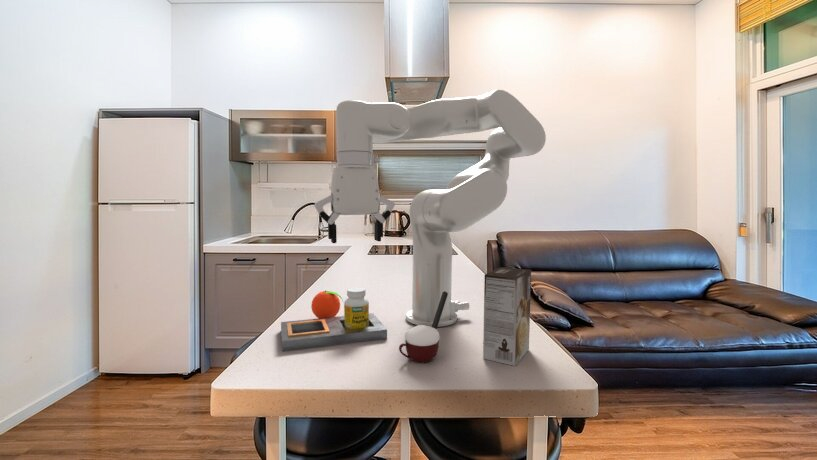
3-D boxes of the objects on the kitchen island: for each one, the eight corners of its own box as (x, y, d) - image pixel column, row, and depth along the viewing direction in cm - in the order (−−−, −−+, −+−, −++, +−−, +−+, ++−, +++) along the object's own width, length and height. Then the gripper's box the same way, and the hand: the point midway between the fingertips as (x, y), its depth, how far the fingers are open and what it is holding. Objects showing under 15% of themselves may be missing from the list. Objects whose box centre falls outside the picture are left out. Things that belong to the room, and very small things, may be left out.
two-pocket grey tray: (373, 321, 92) (373, 311, 91) (387, 338, 80) (387, 328, 80) (281, 330, 84) (280, 320, 84) (282, 351, 73) (282, 339, 73)
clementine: (348, 316, 96) (348, 288, 95) (338, 325, 89) (338, 295, 88) (318, 314, 97) (318, 286, 96) (306, 322, 90) (306, 293, 90)
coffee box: (498, 343, 78) (500, 266, 77) (529, 350, 75) (532, 269, 74) (481, 359, 70) (483, 273, 69) (516, 367, 67) (519, 277, 66)
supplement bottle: (362, 326, 88) (362, 285, 87) (373, 333, 83) (373, 290, 83) (340, 330, 85) (340, 288, 84) (350, 338, 80) (350, 293, 80)
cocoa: (399, 367, 68) (396, 302, 66) (399, 352, 74) (397, 292, 72) (452, 365, 68) (451, 300, 66) (448, 350, 74) (447, 290, 72)
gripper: (389, 164, 87) (389, 238, 89) (311, 162, 82) (313, 241, 83) (399, 161, 80) (399, 242, 82) (315, 159, 75) (317, 245, 76)
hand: (356, 241), depth 82 cm, fingers open, 9 cm apart
